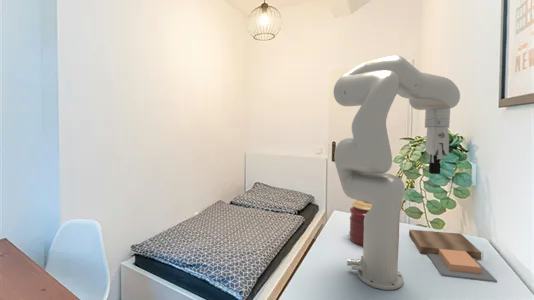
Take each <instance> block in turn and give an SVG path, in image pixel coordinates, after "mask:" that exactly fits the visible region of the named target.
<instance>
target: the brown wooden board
mask: <svg viewBox="0 0 534 300" xmlns="http://www.w3.org/2000/svg"><path fill="white" fill-rule="evenodd" d="M408 236H409V237H410V240H411V241H412V242H413V244H414V246H415V247H416V249H417V251H418V252H419V253H420V254H421V255H427V253H429V254H438V249H447V250H457V251H466V252H467V253H468V254H469V255H470V256H471V257H472V258H475V259H476V260H477V261H478V260H480V261H481V260H482V251H481V250H479V249H478V248H477V247H476V246H475V245H474V244H473V243H472V242H471V241H470V240H468V239H467V238H466V237H465V236H464V235H463V234H462V233H460V232H459V233H457V232H444V231H433V230H421V229H409V233H408Z"/></svg>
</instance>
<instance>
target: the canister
mask: <svg viewBox="0 0 534 300" xmlns="http://www.w3.org/2000/svg"><path fill="white" fill-rule="evenodd" d="M351 205H352V207H350V209H349V212H350V217H349V221H350V222H349V239H350V240H351V242H353V243H354V244H356V245H359V246H362V247H363V241H364V217H365V215H366V213H367V212H368V211H369V210H370V209H371V208H372V204H369V203H367V202H363V201H359V200H354V201H353V202H352V204H351Z"/></svg>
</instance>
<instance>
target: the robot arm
mask: <svg viewBox="0 0 534 300" xmlns="http://www.w3.org/2000/svg"><path fill="white" fill-rule="evenodd" d="M397 95H398V96H400V97H401V98H404V99H408V102H409V104H410V106H411V108H412V109H414V110H418V111H425V113H424V114H425V115H424V129H426V136H425V152H426V153H427V154H428V159H429V160H428V162H429V163H428V173H429V174H431V175H440V174H441V165H442V164H441V163H442V160H443V156H448V155H449V152H450V150H449V149H450V137H449V135H450V134H449V128H450V121H451V109H454V108H455V107H456V106H457V105H458V104H459V102H460V99H461V93H460V89H459V87H458V86H457V84H456V83H454V82H453V80H451V79H450V78H448V77H445V76H441V75H436V74H431V73H427V72H421V71H420V70H419V69H418V68H416V67H415V66H414V65H413V64H411V62H410V61H408V60H407V59H406V58H405V57H403V56H400V55H388V56H384V57H378V58H375V59H369V60H366V61H363V62H361V63H359V64H358V65H356V66H355V67H354V68H352V69H351V70H349V71H348V72H346V73H345V74H344V75H341V76H340V77H339V79H338V80H336V82H335V84H334V86H333V97H334V100H335V101H336V103H338V105H340V106H343V107H358V106H359V109H358V110H357V112H356V113H355V115H354V117H353V119H352V122H351V134H352V138H350V137H349V138H344V139H342V140H340V141H339V142H338V143H337V145H336V147H335V150H334V155H333V157H334V164H335V169H336V172H337V175H338V179H339V181H340V185H341V188H342V190H343V192H344V194H345V195H346V196H347V198H350V199H353V200H354V201H357V200H359V201H363V202H367V203H369V204H372V208H371V209H370V210H369V211H368V212H367V213H366V215H365V217H364V241H363V246H362V248H363V249H362V250H363V251H362V255H361V256H360V258H358V259H352V258H347V259H346V266H350V267H351V270H354V271H355V270H357V271H356V274H357V276H358V278H359V279H360V281H362V282H363V283H365V284H366V285H368V286H370V287H372V288H375V289H379V290H387V291H392V290H397V289H399V288H401V287H402V286H403V285H404V277H403V274H402V273H401V272H400V271H399V245H400V243H399V242H400V241H399V240H400V221H401V217H400V216H401V210H402V206H403V205H402V204H403V201H404V198H405V192H406V191H405V190H406V187H405V183H404V181H403V180H402V179H401V178H399V177H398V176H396V175H394V174H391V173H387V172H389V171H390V170H391V169H392V167H393V166H392V165H393V157H392V156H393V155H392V154H393V153H392V150H391V144H390V140H389V135H388V129H387V119H388V114H389V112H390V110H391V108H392V105H393V104H394V103H393V102H394V101H395V98H396V97H397Z"/></svg>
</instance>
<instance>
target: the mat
mask: <svg viewBox="0 0 534 300" xmlns="http://www.w3.org/2000/svg"><path fill="white" fill-rule="evenodd" d="M426 255H427V257H428V258H429V259H430V261H431V263H432V264H433V265H434V267H435V268H436V269H437V271H438V273H439V274H440V276H441V277H449V278H456V279H457V278H458V279H459V278H460V279H464V280H467V279H468V280H472V281H473V280H474V281H475V280H476V281H483V282H490V281H494V282H493V283H497V282H498V280H497V279H496V278H495V277H494V276H493V274H491V273H490V272H489V271H488V270H487V269H486V268H485V267H484V266H483V264H481V263H480V262H479V261H478V259H475V258H473V259H474V260H475V261H476V262H477V263H478V265H479V266H480V267H481V274H478V273H470V272H461V271H452V270H450V269H449V268H448V267H447V265H446V264H445V263H444V261H443V260H442V259H441V257H440V256H439V255H438V254H429V253H427V254H426Z"/></svg>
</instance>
